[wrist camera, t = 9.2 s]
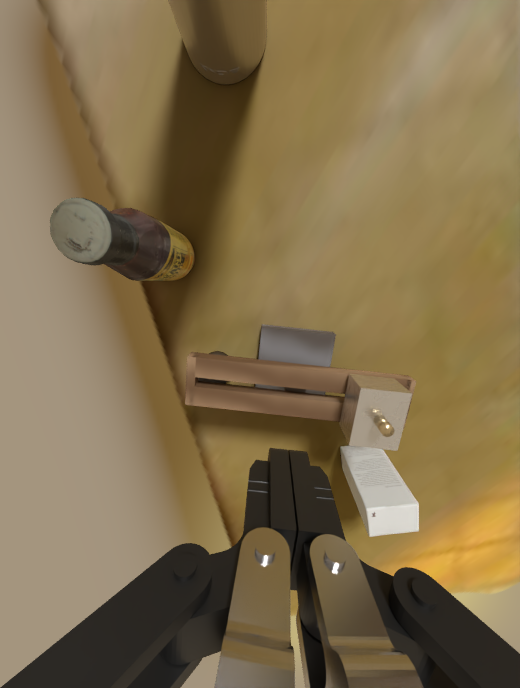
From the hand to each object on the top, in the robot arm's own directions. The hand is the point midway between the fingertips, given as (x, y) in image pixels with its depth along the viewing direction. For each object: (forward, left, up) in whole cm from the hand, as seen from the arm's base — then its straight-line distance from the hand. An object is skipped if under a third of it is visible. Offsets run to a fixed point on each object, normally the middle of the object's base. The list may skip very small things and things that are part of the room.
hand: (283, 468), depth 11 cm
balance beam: (+5, +3, -29) cm, 29 cm away
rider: (+5, +11, -22) cm, 25 cm away
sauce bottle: (-9, -14, -29) cm, 33 cm away
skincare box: (+18, +16, -29) cm, 38 cm away
